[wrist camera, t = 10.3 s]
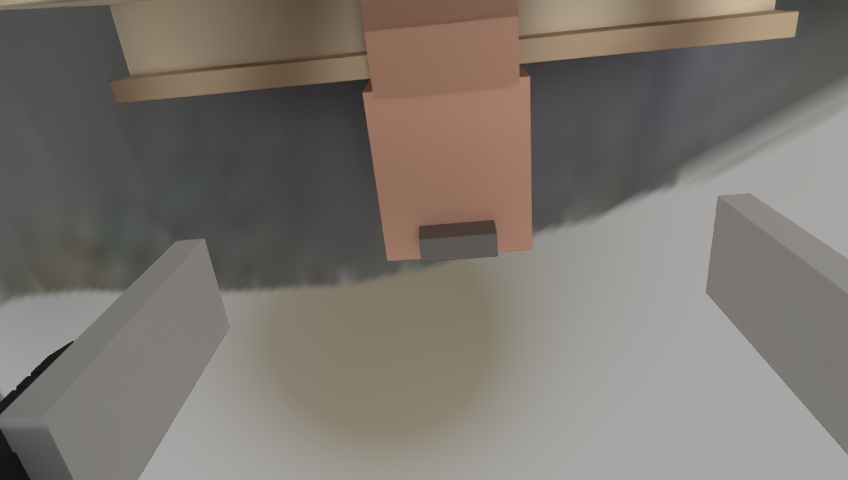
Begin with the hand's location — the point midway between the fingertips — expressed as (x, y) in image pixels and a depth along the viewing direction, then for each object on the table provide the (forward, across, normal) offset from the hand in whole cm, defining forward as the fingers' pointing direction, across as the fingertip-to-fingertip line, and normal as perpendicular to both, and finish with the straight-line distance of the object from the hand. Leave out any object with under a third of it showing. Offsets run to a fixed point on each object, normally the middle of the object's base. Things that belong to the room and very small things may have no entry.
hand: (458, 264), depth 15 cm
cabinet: (+16, 0, +2) cm, 16 cm away
